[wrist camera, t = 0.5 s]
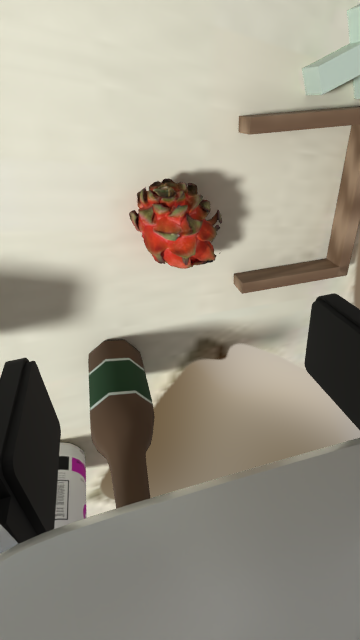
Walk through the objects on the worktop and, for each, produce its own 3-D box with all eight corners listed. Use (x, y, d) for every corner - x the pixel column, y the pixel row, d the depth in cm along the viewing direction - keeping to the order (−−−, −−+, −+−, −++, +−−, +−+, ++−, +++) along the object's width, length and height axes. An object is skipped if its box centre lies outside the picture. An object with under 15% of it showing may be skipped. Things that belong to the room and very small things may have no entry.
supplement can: (93, 445, 58) (97, 538, 46) (71, 475, 61) (68, 571, 48) (47, 434, 54) (37, 532, 42) (24, 467, 57) (9, 568, 44)
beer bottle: (98, 330, 46) (112, 499, 27) (149, 345, 50) (195, 505, 30) (78, 373, 49) (76, 553, 30) (127, 384, 53) (156, 553, 33)
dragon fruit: (134, 166, 38) (194, 235, 46) (98, 227, 36) (168, 289, 44) (189, 147, 32) (248, 230, 40) (150, 219, 30) (220, 292, 38)
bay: (239, 116, 37) (250, 117, 34) (366, 105, 39) (385, 106, 37) (233, 283, 48) (242, 293, 45) (333, 266, 50) (346, 275, 48)
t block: (296, 37, 34) (313, 32, 32) (369, -2, 34) (392, -10, 31) (310, 121, 39) (326, 123, 36) (374, 88, 38) (394, 87, 36)
